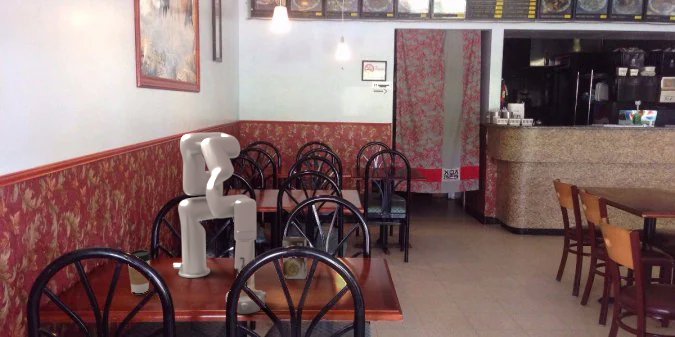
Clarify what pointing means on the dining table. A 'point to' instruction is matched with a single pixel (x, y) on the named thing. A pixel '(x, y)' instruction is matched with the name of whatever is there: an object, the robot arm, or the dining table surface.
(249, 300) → the dish
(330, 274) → the dining table surface
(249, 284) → the maple block
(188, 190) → the robot arm
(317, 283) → the dining table surface
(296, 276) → the coffee box
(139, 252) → the coffee cup
